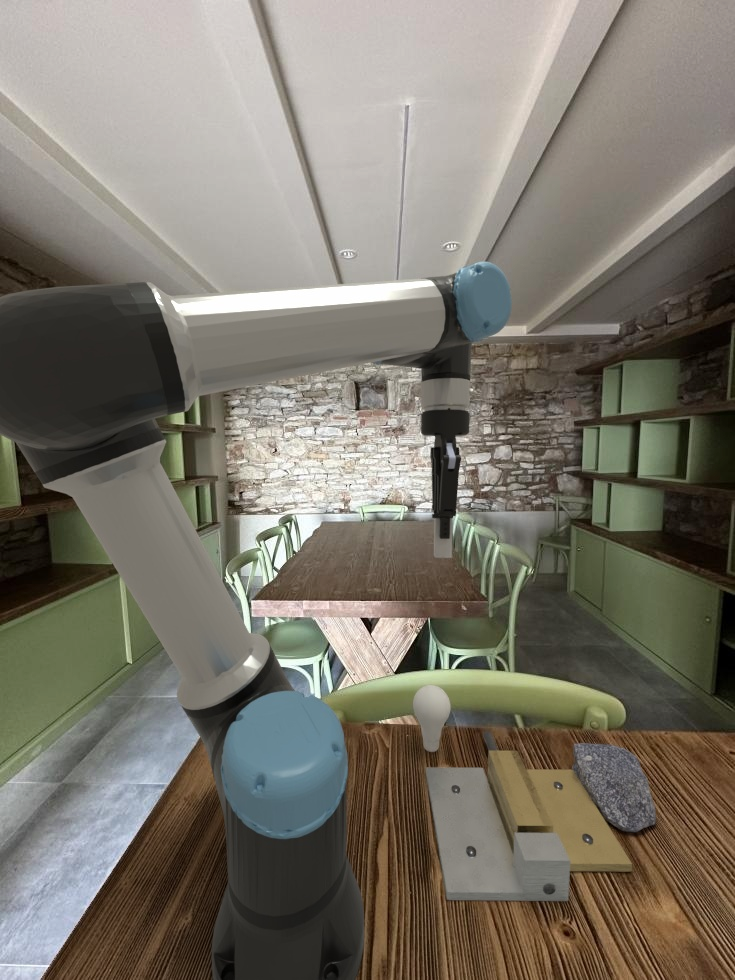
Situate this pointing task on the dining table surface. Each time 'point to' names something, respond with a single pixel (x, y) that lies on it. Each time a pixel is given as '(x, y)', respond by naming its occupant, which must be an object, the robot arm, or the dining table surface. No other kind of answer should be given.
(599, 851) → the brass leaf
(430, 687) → the lightbulb
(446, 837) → the zinc leaf
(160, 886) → the dining table surface
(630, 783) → the rock
